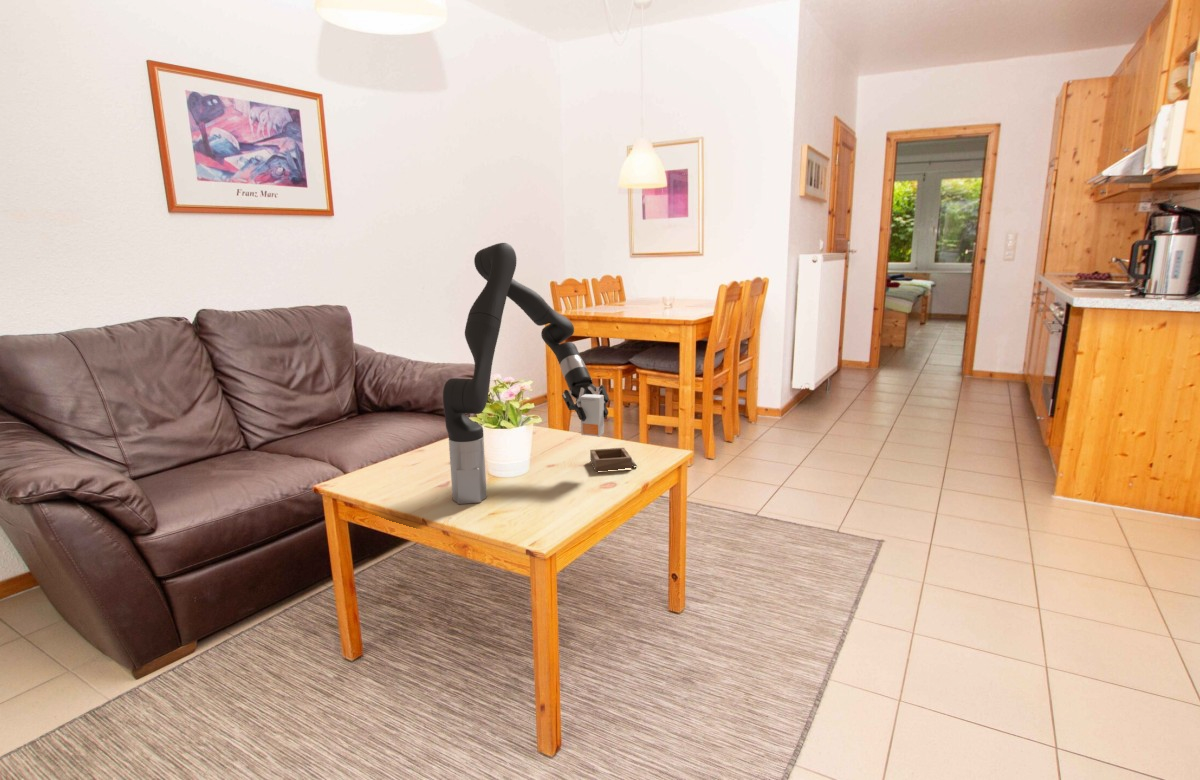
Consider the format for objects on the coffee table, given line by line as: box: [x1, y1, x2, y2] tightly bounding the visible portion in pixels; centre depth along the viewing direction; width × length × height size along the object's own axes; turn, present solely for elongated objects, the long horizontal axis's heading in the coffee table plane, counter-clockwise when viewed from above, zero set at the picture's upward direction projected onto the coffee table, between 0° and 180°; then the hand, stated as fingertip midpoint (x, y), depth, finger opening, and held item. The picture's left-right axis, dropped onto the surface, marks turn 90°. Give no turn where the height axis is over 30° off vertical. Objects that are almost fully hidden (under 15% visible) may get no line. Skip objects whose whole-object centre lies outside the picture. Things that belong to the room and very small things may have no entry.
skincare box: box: [580, 394, 605, 438], centre depth 188 cm, size 6×4×12 cm
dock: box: [589, 447, 638, 473], centre depth 198 cm, size 11×13×4 cm
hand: (595, 417), depth 187 cm, fingers closed on skincare box, 7 cm apart
